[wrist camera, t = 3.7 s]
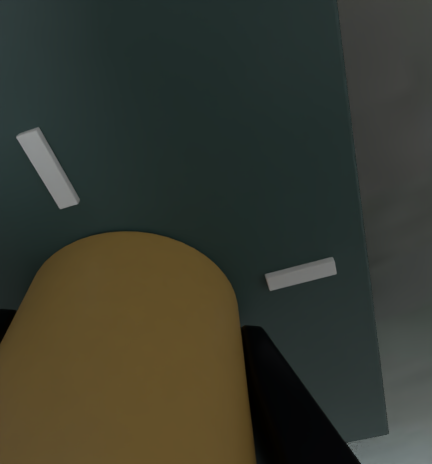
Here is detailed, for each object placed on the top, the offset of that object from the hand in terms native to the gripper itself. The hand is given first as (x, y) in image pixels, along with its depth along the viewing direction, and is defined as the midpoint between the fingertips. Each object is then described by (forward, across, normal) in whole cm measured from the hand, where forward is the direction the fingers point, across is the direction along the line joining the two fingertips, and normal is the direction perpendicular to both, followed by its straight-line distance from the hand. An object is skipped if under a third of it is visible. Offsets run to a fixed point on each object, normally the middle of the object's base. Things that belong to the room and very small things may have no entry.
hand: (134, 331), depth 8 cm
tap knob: (0, 0, 0) cm, 0 cm away
